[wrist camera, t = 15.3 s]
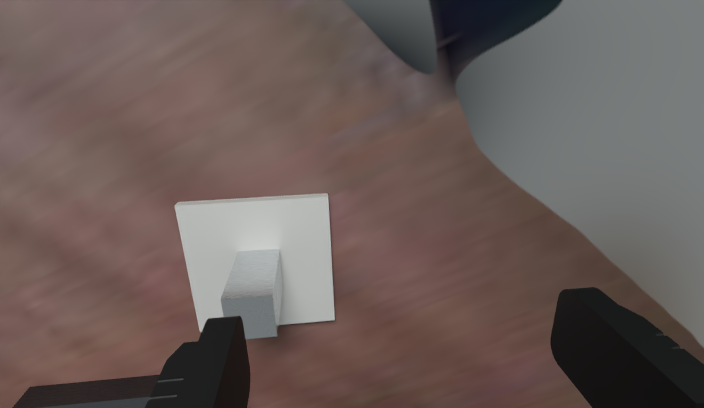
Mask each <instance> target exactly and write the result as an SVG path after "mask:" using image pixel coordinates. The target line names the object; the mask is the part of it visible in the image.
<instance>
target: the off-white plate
mask: <svg viewBox="0 0 704 408" xmlns="http://www.w3.org/2000/svg"><path fill="white" fill-rule="evenodd" d="M175 211H176V215H177V220H178V225H179V230H180V235H181V240H182V245H183V250H184V255H185V260H186V265H187V270H188V275H189V280H190V285H191V290H192V295H193V300H194V305H195V310H196V315H197V320H198V325H199V330H200V332H202V330H203V328H204V325H205V323H206V321H207V319H208V318H219V317H224V316H223V310H222V305H221V296H222V294H223V291H224V288H225V285H226V283H227V280H228V277H229V274H230V272H231V269H232V266H233V263H234V261H235V258H236V255H237V252H238V251H251V250H266V249H280V257H281V267H282V277H283V290H282V299H281V308H280V317H279V325H284V324H296V323H308V322H319V321H331V320H335V316H334V297H333V277H332V258H331V239H330V220H329V201H328V193H322V194H305V195H289V196H272V197H255V198H238V199H221V200H204V201H187V202H178V203H177V204H176V205H175Z"/></svg>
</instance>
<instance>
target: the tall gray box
mask: <svg viewBox="0 0 704 408" xmlns="http://www.w3.org/2000/svg"><path fill="white" fill-rule="evenodd" d="M282 290H283V277H282V267H281V257H280V249H266V250H251V251H238V252H237V255H236V258H235V261H234V263H233V266H232V269H231V272H230V274H229V277H228V280H227V283H226V285H225V288H224V291H223V294H222V296H221V305H222V310H223V316H224V317H231V316H241V318H242V321H243V326H244V333H245V339H253V338H265V337H276V336H277V334H278V326H279V317H280V308H281V299H282Z"/></svg>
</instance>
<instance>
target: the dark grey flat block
mask: <svg viewBox="0 0 704 408" xmlns="http://www.w3.org/2000/svg"><path fill="white" fill-rule="evenodd" d="M159 376H160V375H153V376H142V377H132V378H121V379H110V380H100V381H89V382H79V383H68V384H57V385H47V386H36V387H30V388H29V389H28V390H27V391H26V392H25V393H24V395H23V396H22V397H21V398H20V399H19V401H18V402H17V403H16V404H15V405H14V407H13V408H145V406H146V404H147V402H148V401H149V400H150V395H151V393H152V391H153V389H154V387H155V384H156V383H158V378H159Z"/></svg>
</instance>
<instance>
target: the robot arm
mask: <svg viewBox="0 0 704 408" xmlns="http://www.w3.org/2000/svg"><path fill="white" fill-rule="evenodd" d="M551 349H552V353H553V356H554V358H555V360H556V362H557V364H558V365H559V366H560V368H561V369H562V370H563V371H564V373H565V374H566V375H567V376H568V378H569V379H570V380H571V381H572V383H573V384H574V385H575V386H576V388H577V389H578V390H579V391H580V393H581V394H582V395H583V396H584V398H585V399H586V400H587V401H588V403H589V404H590V405H591V406H592V408H704V364H702V363H701V362H700V361H699V360H697V359H696V358H695V357H694V356H692V355H691V354H690V353H688V352H687V351H686V350H685V349H680V347H679V345H678V344H677V343H676V342H674V341H673V340H672V339H671V338H669V337H668V336H664V335H663V332H662V331H661V330H659V329H658V328H657V327H655V326H654V325H653V324H652V323H650V322H649V321H648V320H647V319H645V318H644V317H642V316H640V315H638V314H636V313H634V312H632V311H630V310H628V309H626V308H624V307H622V306H620V305H618V304H617V303H616V302H614V301H613V300H612V299H611V298H609V297H608V296H607V295H606V294H604V293H603V292H602V291H601V290H599V289H598V288H595V287H588V288H576V289H565V290H563V291H561V293H560V294H559V297H558V302H557V307H556V312H555V318H554V323H553V328H552V334H551ZM249 391H250V366H249V359H248V353H247V346H246V339H245V333H244V326H243V321H242V318H241V316H231V317H219V318H208V319H207V321H206V323H205V325H204V328H203V330H202V333H201V336H200V338H199V341H198V342H187V343H183V344H182V345H181V346H180V347H179V348H178V349H177V350H176V351H175V352H174V353H173V354H172V355H171V356H170V357H169V358H168V359H167V361H166V363H165V365H164V367H163V369H162V372H161V374H160V376H159V378H158V383H156V384H155V387H154V389H153V391H152V393H151V395H150V400H149V401H148V402H147V404H146V406H145V408H247V404H248V398H249Z"/></svg>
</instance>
